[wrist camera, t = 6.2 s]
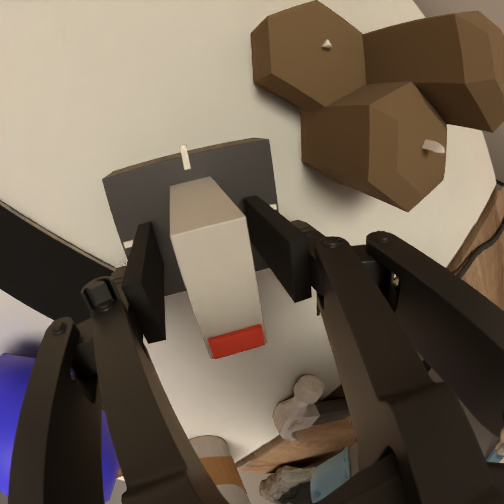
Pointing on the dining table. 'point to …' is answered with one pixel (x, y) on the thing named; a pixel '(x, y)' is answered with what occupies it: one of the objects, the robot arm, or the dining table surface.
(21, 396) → the bomb
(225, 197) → the timer knob
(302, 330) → the dining table surface
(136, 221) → the panel
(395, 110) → the candle
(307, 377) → the hammer
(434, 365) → the robot arm
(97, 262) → the smartphone
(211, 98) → the dining table surface
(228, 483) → the coffee cup
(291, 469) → the stone
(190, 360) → the dining table surface
